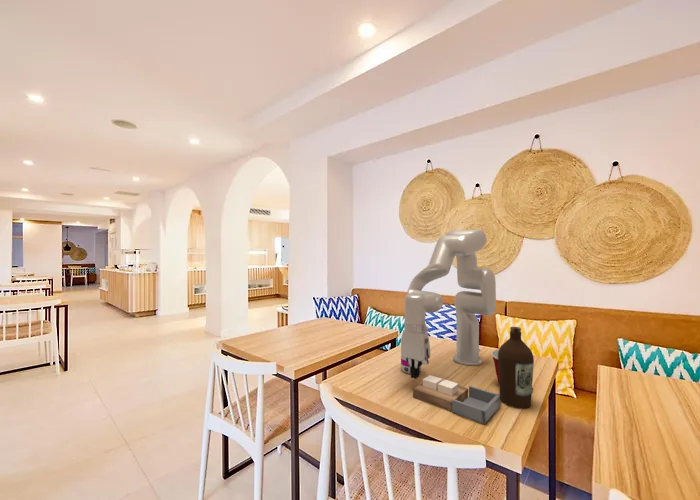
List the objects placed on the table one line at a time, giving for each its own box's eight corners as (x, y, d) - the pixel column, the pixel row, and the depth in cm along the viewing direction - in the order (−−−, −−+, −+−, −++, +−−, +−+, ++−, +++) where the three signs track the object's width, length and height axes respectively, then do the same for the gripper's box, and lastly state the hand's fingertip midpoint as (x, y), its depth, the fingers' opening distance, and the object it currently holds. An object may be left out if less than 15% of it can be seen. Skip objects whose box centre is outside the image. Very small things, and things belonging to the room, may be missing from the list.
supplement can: (421, 375, 128) (421, 338, 128) (400, 373, 130) (400, 337, 129) (420, 367, 136) (420, 333, 136) (401, 366, 138) (401, 332, 137)
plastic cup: (486, 386, 118) (486, 354, 118) (496, 377, 126) (496, 347, 126) (518, 395, 111) (518, 361, 111) (526, 385, 119) (526, 353, 119)
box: (470, 397, 110) (470, 385, 110) (500, 406, 103) (500, 394, 103) (452, 412, 99) (452, 400, 99) (484, 425, 93) (484, 411, 93)
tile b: (444, 386, 111) (444, 379, 111) (458, 390, 108) (458, 383, 108) (437, 391, 108) (437, 384, 108) (451, 396, 104) (451, 388, 104)
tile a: (429, 381, 115) (429, 374, 115) (442, 385, 112) (442, 378, 112) (422, 386, 112) (422, 379, 111) (435, 390, 108) (435, 383, 108)
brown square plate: (431, 385, 119) (431, 377, 119) (468, 397, 110) (468, 388, 110) (413, 397, 110) (413, 388, 110) (451, 411, 100) (451, 402, 100)
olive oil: (490, 396, 110) (491, 324, 110) (515, 392, 113) (516, 322, 113) (514, 411, 100) (514, 333, 99) (541, 407, 103) (541, 330, 102)
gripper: (438, 329, 114) (438, 380, 114) (403, 322, 124) (403, 369, 124) (428, 333, 108) (428, 386, 109) (392, 326, 119) (392, 374, 119)
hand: (414, 377), depth 116 cm, fingers closed
